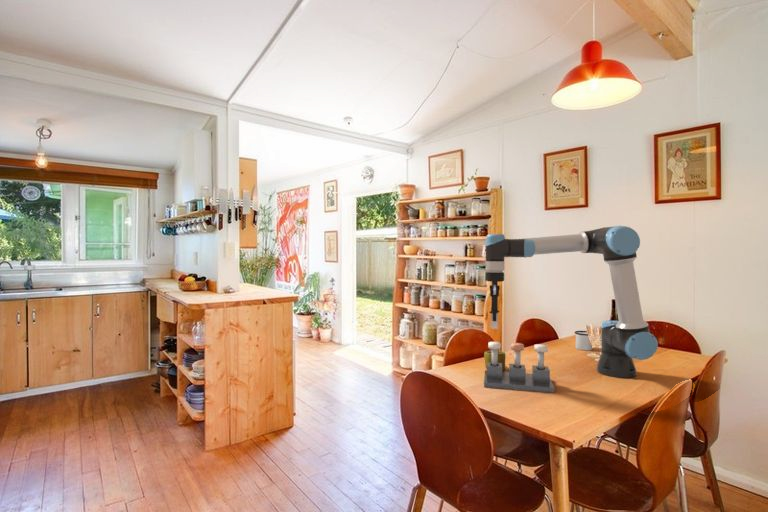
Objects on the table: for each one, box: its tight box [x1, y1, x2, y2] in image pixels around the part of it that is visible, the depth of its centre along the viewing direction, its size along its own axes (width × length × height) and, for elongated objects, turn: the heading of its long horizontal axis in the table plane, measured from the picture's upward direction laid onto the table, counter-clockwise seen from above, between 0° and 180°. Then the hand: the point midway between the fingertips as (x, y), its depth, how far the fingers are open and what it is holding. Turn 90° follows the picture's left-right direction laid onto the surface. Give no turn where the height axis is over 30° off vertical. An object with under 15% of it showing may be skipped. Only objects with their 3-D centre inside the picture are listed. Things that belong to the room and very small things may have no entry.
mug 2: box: [574, 330, 593, 352], centre depth 221 cm, size 12×10×9 cm
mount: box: [483, 362, 555, 394], centre depth 165 cm, size 26×16×7 cm, turn 75°
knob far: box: [487, 341, 502, 366], centre depth 167 cm, size 5×5×10 cm
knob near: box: [533, 343, 549, 369], centre depth 163 cm, size 5×5×10 cm
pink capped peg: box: [510, 342, 525, 368], centre depth 165 cm, size 5×5×10 cm
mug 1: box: [483, 349, 506, 371], centre depth 185 cm, size 12×10×10 cm
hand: (494, 328), depth 167 cm, fingers closed
